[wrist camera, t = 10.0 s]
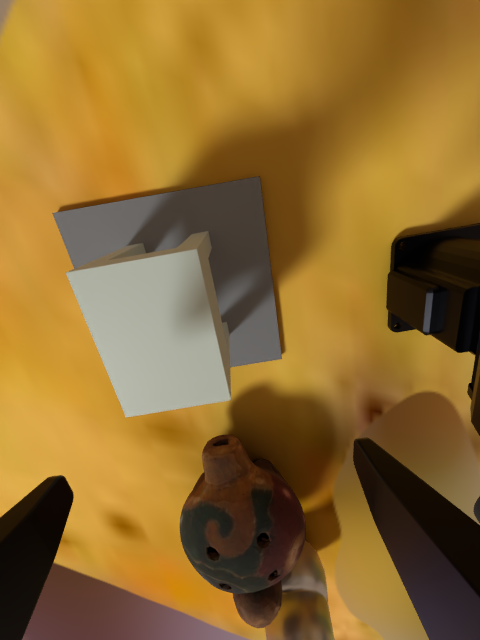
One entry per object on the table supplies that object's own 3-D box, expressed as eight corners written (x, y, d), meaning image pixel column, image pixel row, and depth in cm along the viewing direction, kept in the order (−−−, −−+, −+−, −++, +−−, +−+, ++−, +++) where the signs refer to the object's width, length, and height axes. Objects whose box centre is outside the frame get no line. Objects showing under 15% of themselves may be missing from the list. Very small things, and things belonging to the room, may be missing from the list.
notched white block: (229, 334, 20) (230, 399, 13) (159, 346, 20) (126, 417, 13) (208, 230, 17) (196, 248, 10) (126, 245, 17) (65, 272, 11)
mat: (259, 176, 16) (259, 176, 16) (280, 356, 21) (281, 358, 21) (56, 212, 17) (52, 213, 16) (122, 381, 21) (120, 385, 21)
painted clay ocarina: (220, 540, 29) (210, 653, 22) (163, 424, 24) (124, 517, 17) (313, 522, 28) (337, 636, 20) (272, 397, 23) (283, 484, 16)
